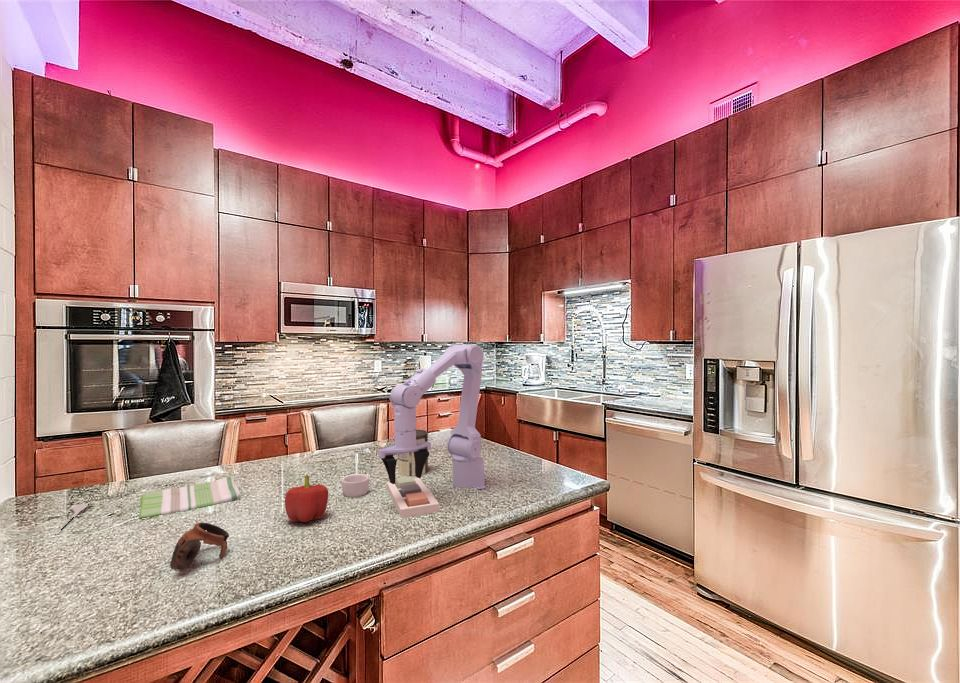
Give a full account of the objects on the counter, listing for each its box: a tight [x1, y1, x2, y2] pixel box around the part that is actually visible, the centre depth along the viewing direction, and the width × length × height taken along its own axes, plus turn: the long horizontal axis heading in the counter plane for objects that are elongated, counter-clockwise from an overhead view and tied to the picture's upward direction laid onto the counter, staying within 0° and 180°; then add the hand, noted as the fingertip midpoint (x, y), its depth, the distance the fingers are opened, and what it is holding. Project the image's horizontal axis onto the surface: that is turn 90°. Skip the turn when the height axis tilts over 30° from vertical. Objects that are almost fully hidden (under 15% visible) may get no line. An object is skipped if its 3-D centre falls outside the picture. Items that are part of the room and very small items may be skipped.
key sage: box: [396, 476, 416, 489], centre depth 127 cm, size 5×5×2 cm
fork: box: [71, 502, 95, 518], centre depth 111 cm, size 3×21×3 cm, turn 22°
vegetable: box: [284, 475, 329, 523], centre depth 110 cm, size 11×10×10 cm
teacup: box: [341, 473, 370, 498], centre depth 126 cm, size 10×8×5 cm
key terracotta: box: [406, 492, 428, 507], centre depth 114 cm, size 5×5×2 cm
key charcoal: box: [401, 484, 421, 497], centre depth 120 cm, size 5×5×2 cm
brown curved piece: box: [170, 522, 230, 570], centre depth 89 cm, size 12×10×8 cm
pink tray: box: [385, 477, 440, 519], centre depth 120 cm, size 10×22×3 cm, turn 22°
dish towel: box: [138, 475, 242, 520], centre depth 123 cm, size 17×23×4 cm
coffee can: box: [397, 429, 429, 477], centre depth 144 cm, size 10×10×14 cm
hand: (405, 480), depth 115 cm, fingers open, 7 cm apart
